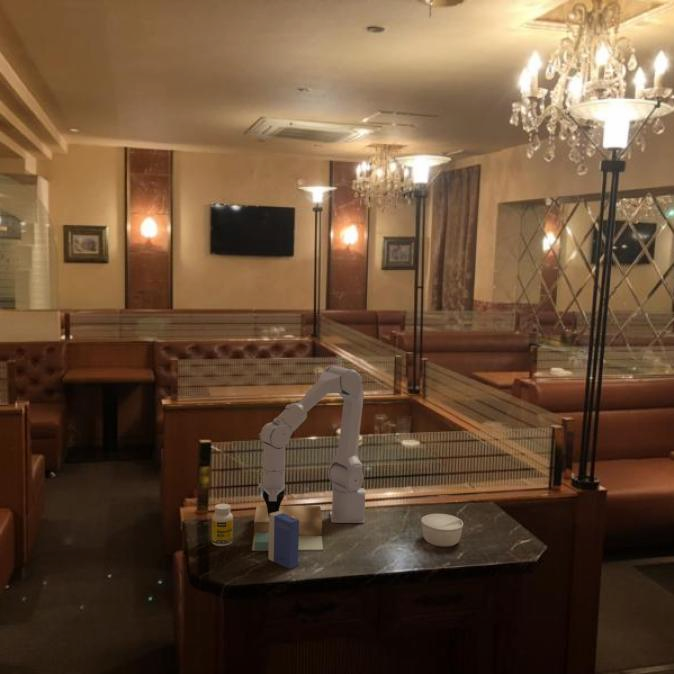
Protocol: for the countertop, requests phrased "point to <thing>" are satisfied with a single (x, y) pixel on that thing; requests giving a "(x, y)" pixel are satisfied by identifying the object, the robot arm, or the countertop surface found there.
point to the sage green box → (262, 541)
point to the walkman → (283, 539)
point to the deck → (306, 514)
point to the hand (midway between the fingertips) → (273, 518)
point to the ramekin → (441, 529)
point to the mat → (304, 543)
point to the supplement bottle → (222, 525)
